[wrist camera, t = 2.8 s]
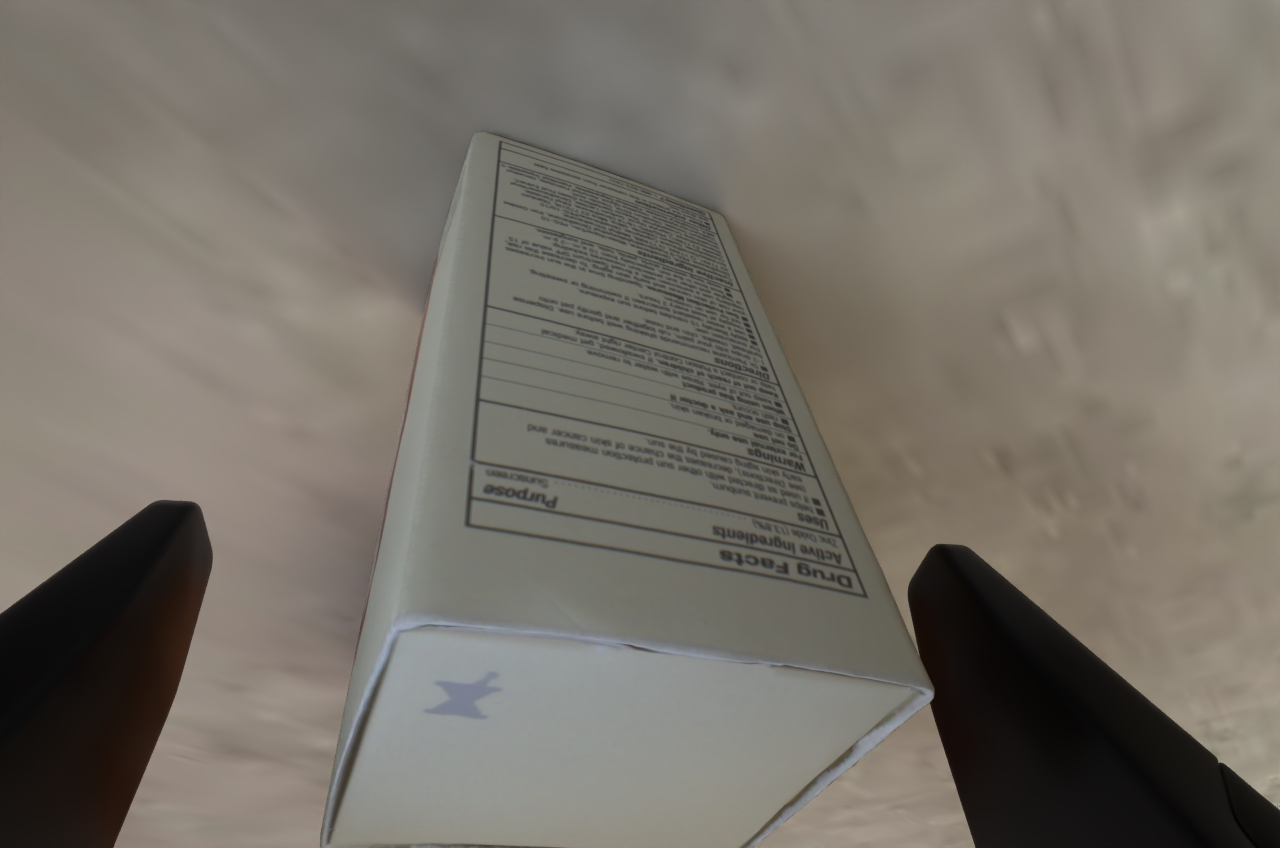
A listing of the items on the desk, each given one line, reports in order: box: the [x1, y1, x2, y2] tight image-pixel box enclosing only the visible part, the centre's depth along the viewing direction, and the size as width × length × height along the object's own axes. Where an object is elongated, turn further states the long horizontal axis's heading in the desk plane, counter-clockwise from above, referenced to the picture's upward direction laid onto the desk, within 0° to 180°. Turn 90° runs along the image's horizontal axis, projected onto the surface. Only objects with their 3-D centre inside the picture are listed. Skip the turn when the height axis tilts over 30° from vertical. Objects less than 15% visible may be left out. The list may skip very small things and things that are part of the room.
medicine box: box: [320, 132, 935, 848], centre depth 11 cm, size 5×4×10 cm
